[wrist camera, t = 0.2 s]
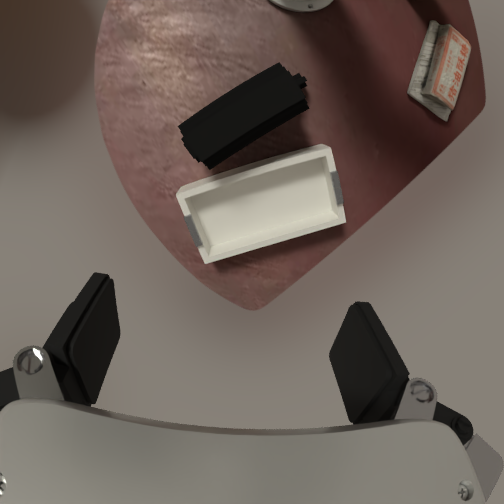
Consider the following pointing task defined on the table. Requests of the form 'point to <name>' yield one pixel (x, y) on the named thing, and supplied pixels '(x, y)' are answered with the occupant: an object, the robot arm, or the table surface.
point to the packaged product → (440, 69)
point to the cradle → (263, 203)
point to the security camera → (244, 115)
